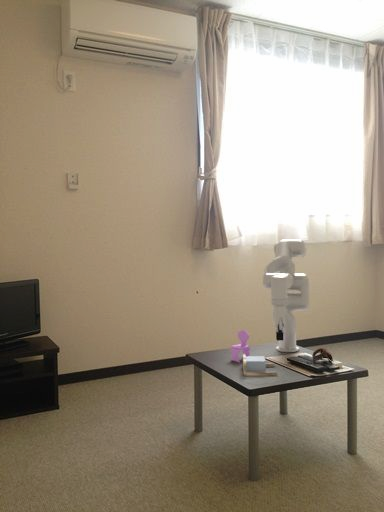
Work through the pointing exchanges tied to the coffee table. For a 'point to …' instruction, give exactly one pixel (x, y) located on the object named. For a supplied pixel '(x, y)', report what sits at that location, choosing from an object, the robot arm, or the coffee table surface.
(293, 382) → the coffee table surface
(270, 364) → the wooden rack
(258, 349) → the coffee table surface
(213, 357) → the coffee table surface
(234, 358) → the toy chair
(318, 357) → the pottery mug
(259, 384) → the coffee table surface
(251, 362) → the carton
